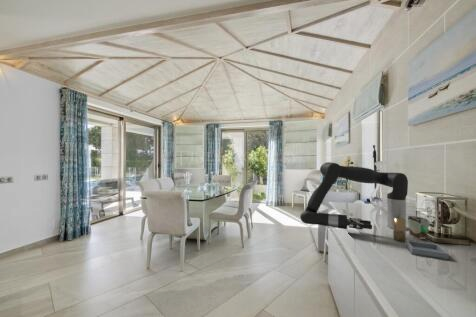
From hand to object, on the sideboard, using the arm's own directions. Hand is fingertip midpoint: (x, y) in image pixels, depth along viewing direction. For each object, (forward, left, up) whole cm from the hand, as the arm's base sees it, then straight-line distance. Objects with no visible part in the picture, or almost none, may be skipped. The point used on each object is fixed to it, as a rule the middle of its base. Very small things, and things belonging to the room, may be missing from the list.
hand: (371, 225), depth 115 cm
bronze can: (0, +12, -6) cm, 14 cm away
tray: (+13, +19, -6) cm, 24 cm away
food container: (-11, +23, -6) cm, 26 cm away
